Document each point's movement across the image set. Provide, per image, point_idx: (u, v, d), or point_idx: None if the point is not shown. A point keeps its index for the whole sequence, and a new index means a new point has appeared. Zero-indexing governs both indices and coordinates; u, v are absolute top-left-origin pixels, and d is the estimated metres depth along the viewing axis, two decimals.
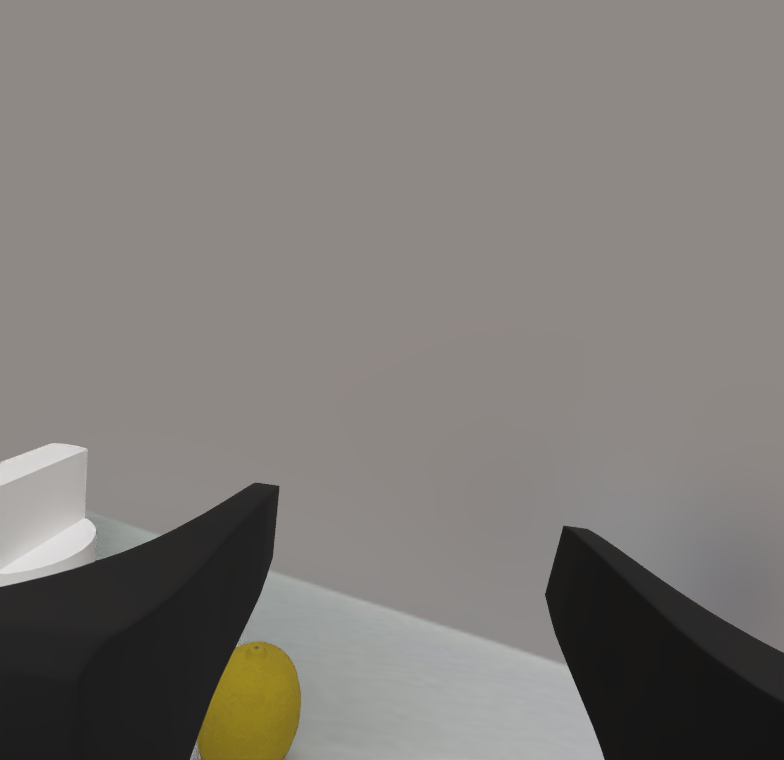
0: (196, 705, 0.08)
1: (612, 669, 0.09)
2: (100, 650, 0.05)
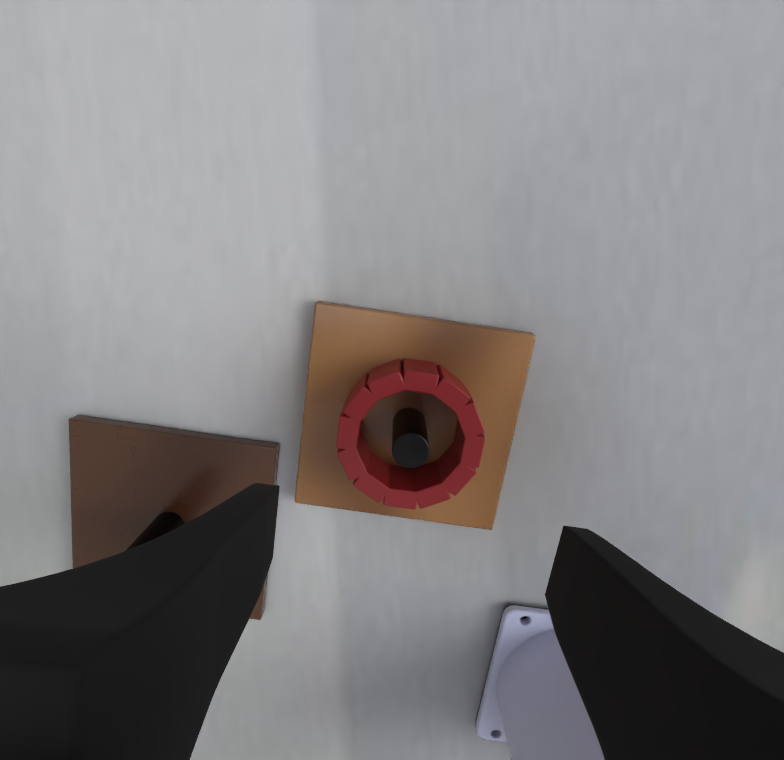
0: (196, 705, 0.08)
1: (612, 669, 0.09)
2: (100, 650, 0.05)
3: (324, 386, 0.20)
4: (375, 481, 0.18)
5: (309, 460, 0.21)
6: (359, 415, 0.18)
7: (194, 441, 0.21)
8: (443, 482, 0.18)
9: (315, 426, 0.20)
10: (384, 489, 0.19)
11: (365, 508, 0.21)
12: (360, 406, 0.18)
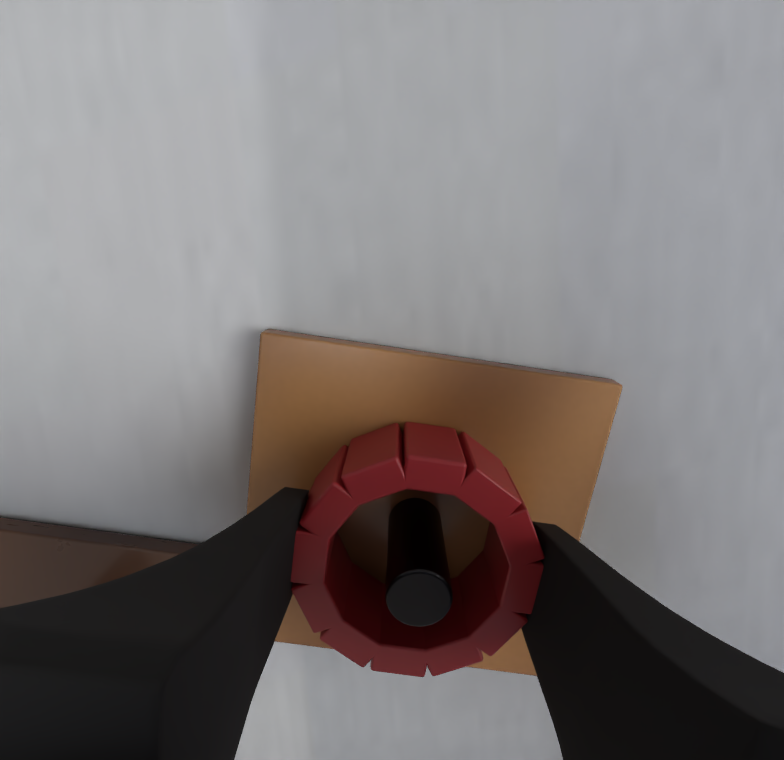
0: (239, 711, 0.08)
1: (570, 663, 0.09)
2: (176, 660, 0.05)
3: (279, 464, 0.12)
4: (357, 634, 0.11)
5: None
6: (328, 530, 0.10)
7: (76, 547, 0.13)
8: (471, 636, 0.11)
9: None
10: (372, 646, 0.11)
11: None
12: (329, 515, 0.10)
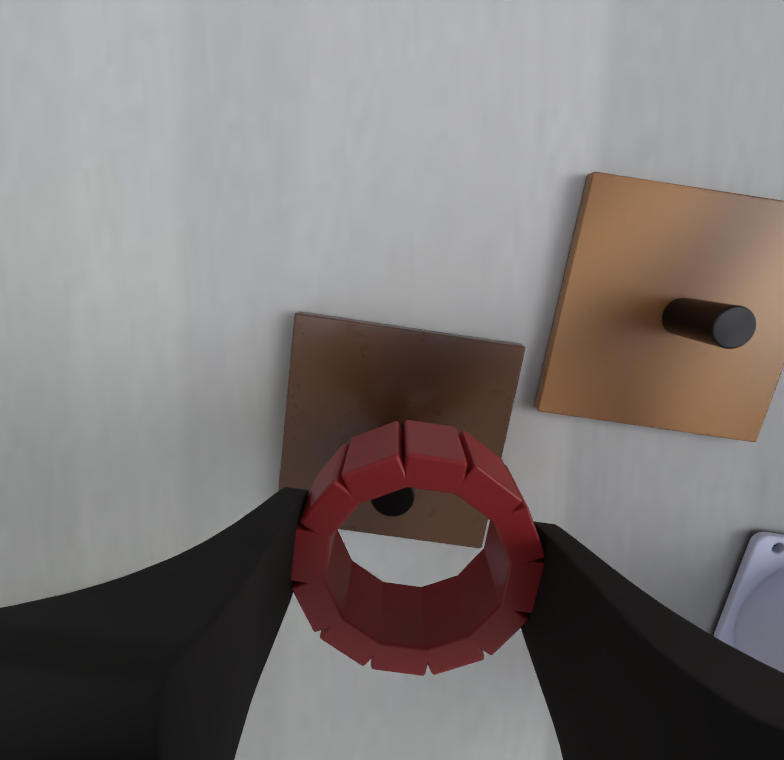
0: (239, 711, 0.08)
1: (570, 663, 0.09)
2: (176, 660, 0.05)
3: (591, 272, 0.18)
4: (357, 633, 0.11)
5: (561, 360, 0.18)
6: (328, 528, 0.10)
7: (434, 339, 0.18)
8: (472, 635, 0.11)
9: (573, 320, 0.18)
10: (372, 645, 0.11)
11: (617, 418, 0.19)
12: (330, 514, 0.10)
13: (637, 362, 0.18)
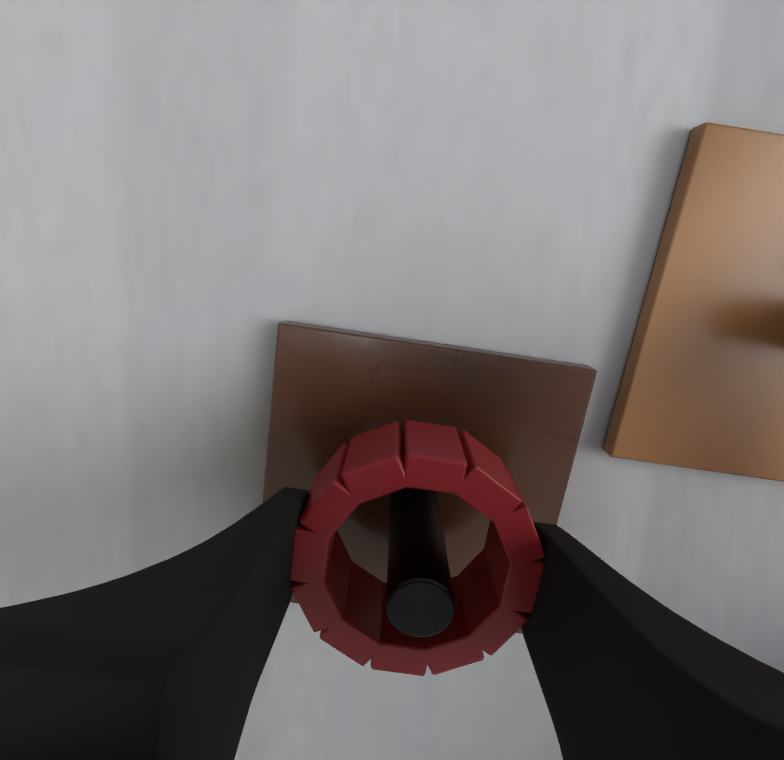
0: (239, 710, 0.08)
1: (570, 663, 0.09)
2: (176, 660, 0.05)
3: (694, 266, 0.13)
4: (357, 633, 0.11)
5: (646, 389, 0.13)
6: (328, 528, 0.10)
7: (471, 359, 0.13)
8: (471, 635, 0.11)
9: (665, 333, 0.13)
10: (372, 645, 0.11)
11: (719, 466, 0.14)
12: (330, 514, 0.10)
13: (750, 392, 0.13)
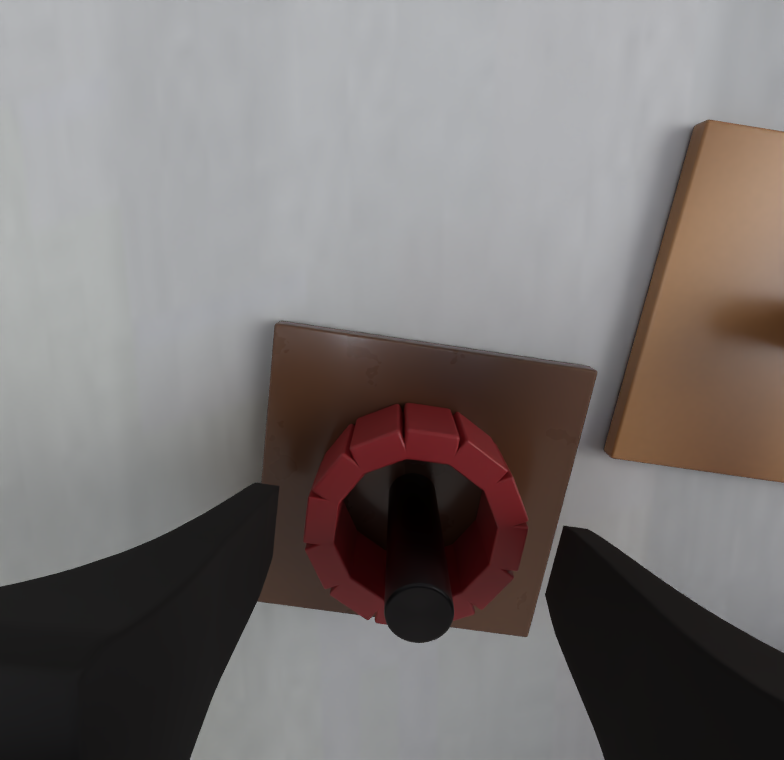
0: (196, 705, 0.08)
1: (612, 669, 0.09)
2: (100, 650, 0.05)
3: (696, 266, 0.12)
4: (363, 590, 0.12)
5: (647, 390, 0.13)
6: (338, 495, 0.12)
7: (470, 360, 0.13)
8: (464, 591, 0.12)
9: (667, 333, 0.13)
10: (376, 601, 0.12)
11: (720, 468, 0.14)
12: (339, 483, 0.12)
13: (753, 392, 0.13)
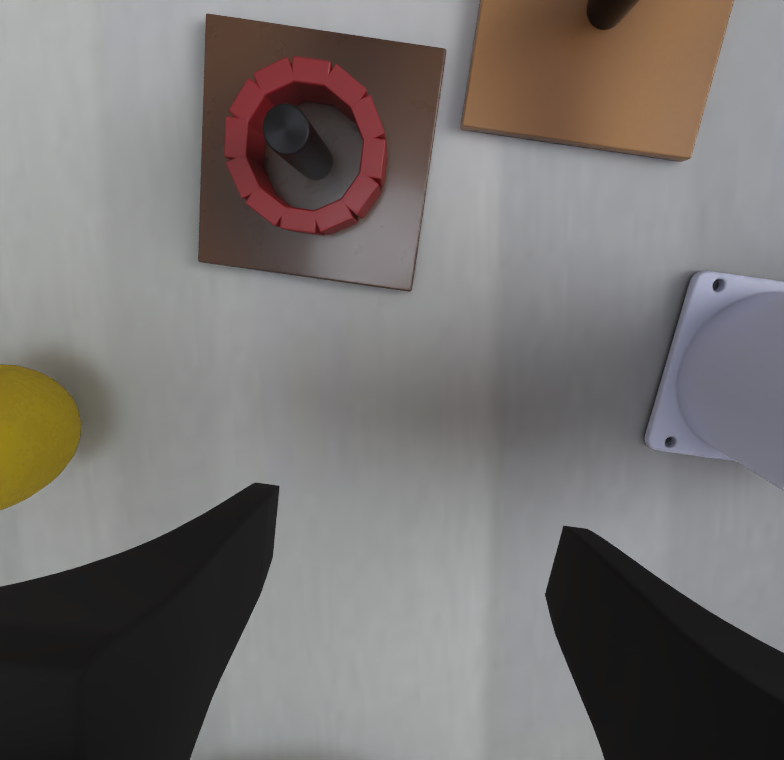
0: (196, 705, 0.08)
1: (612, 669, 0.09)
2: (100, 650, 0.05)
3: None
4: (269, 197, 0.17)
5: (484, 63, 0.18)
6: (247, 114, 0.16)
7: (351, 41, 0.18)
8: (343, 197, 0.17)
9: (494, 14, 0.17)
10: (279, 207, 0.17)
11: (545, 132, 0.18)
12: (247, 102, 0.16)
13: (563, 64, 0.18)
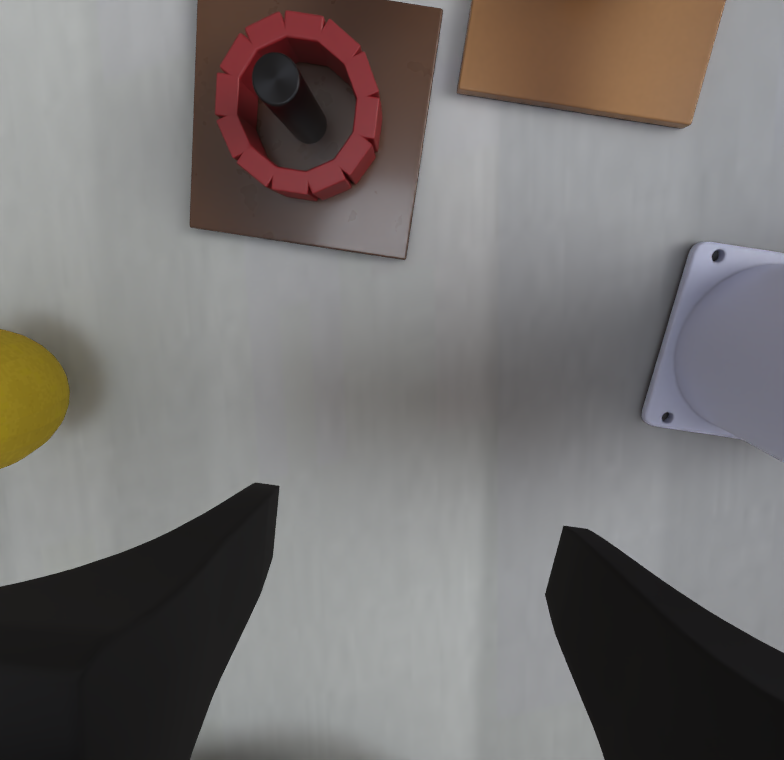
0: (196, 705, 0.08)
1: (612, 669, 0.09)
2: (100, 650, 0.05)
3: None
4: (260, 156, 0.17)
5: (481, 24, 0.17)
6: (238, 71, 0.16)
7: None
8: (335, 157, 0.17)
9: None
10: (271, 167, 0.17)
11: (542, 95, 0.18)
12: (238, 58, 0.16)
13: (561, 26, 0.17)
